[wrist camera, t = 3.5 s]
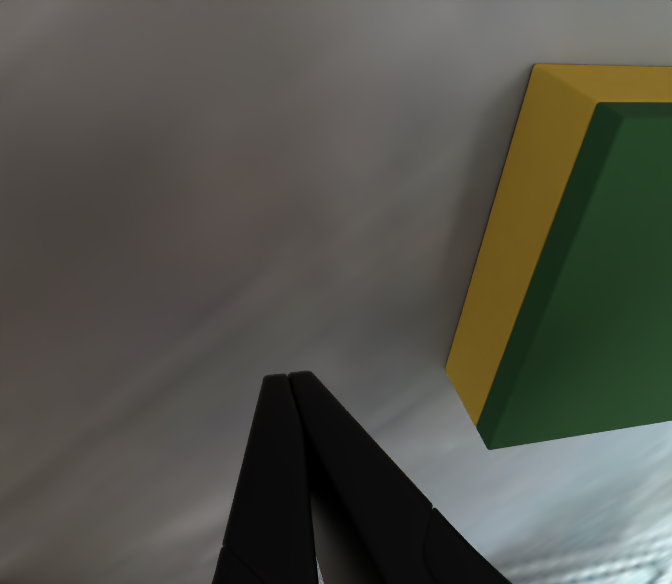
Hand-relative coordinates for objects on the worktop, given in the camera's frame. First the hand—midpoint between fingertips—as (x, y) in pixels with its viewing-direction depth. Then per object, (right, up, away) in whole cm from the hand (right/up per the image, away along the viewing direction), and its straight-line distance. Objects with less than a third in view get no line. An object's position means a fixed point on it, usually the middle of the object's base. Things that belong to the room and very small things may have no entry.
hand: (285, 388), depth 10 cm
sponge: (+7, +3, +5) cm, 10 cm away
